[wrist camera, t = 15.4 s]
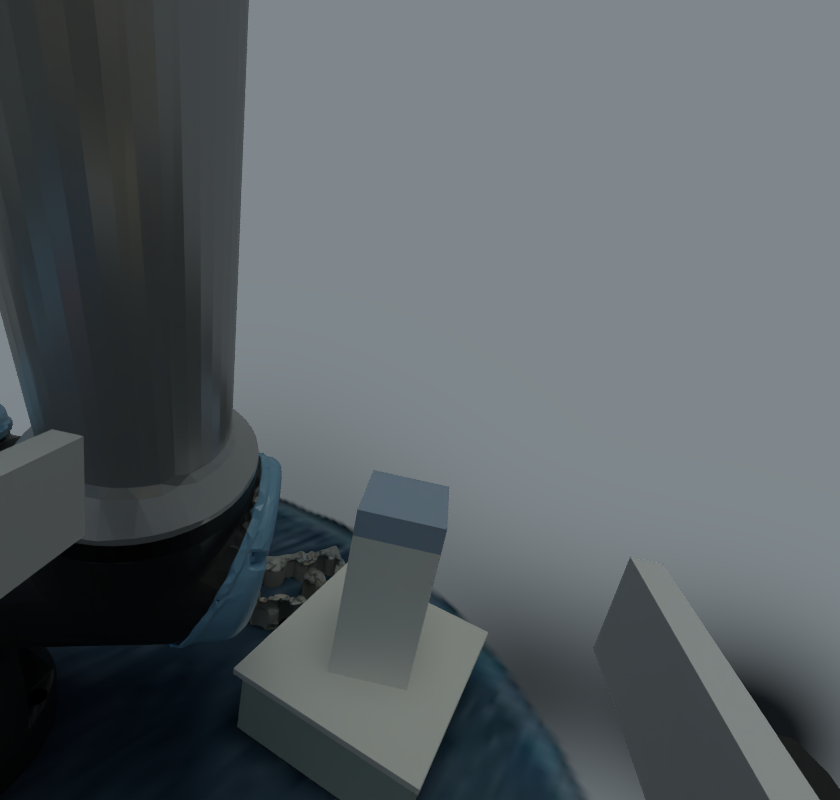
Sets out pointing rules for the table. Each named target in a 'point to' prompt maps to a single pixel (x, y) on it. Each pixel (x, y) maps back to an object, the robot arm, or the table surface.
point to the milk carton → (389, 578)
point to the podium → (354, 702)
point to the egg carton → (302, 570)
